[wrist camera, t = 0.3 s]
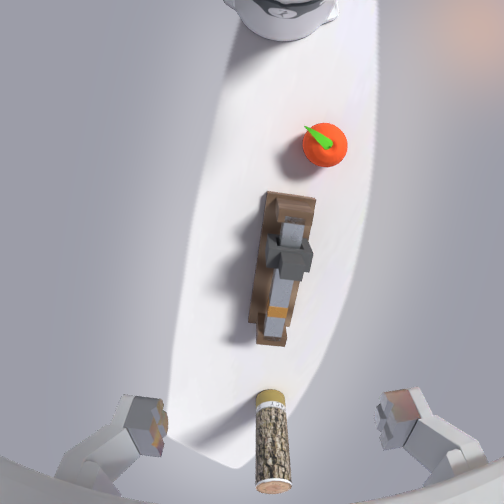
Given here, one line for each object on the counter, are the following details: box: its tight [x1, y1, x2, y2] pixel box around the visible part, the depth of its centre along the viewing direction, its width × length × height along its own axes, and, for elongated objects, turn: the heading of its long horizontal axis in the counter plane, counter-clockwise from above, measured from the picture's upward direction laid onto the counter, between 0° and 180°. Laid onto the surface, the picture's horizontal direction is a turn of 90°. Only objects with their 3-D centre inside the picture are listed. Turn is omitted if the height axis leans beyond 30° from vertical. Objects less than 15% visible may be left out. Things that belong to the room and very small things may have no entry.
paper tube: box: [256, 390, 292, 494], centre depth 60 cm, size 7×7×25 cm
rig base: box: [248, 191, 316, 347], centre depth 54 cm, size 25×8×8 cm, turn 173°
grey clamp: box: [265, 233, 313, 281], centre depth 48 cm, size 3×6×10 cm, turn 83°
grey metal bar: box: [264, 216, 305, 341], centre depth 52 cm, size 22×3×3 cm, turn 173°
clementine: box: [303, 123, 347, 167], centre depth 47 cm, size 8×7×7 cm
